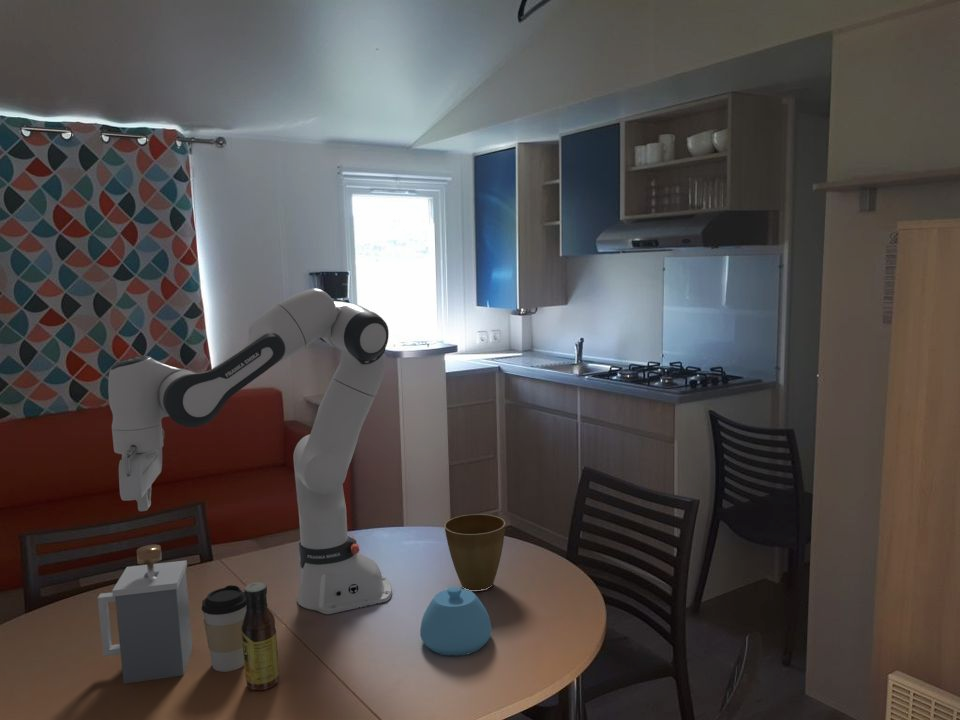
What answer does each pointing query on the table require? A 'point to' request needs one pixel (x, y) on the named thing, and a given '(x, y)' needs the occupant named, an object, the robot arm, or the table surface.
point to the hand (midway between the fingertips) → (144, 508)
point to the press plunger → (149, 557)
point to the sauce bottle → (259, 640)
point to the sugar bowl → (455, 623)
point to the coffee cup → (225, 627)
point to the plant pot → (475, 548)
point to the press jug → (149, 622)
